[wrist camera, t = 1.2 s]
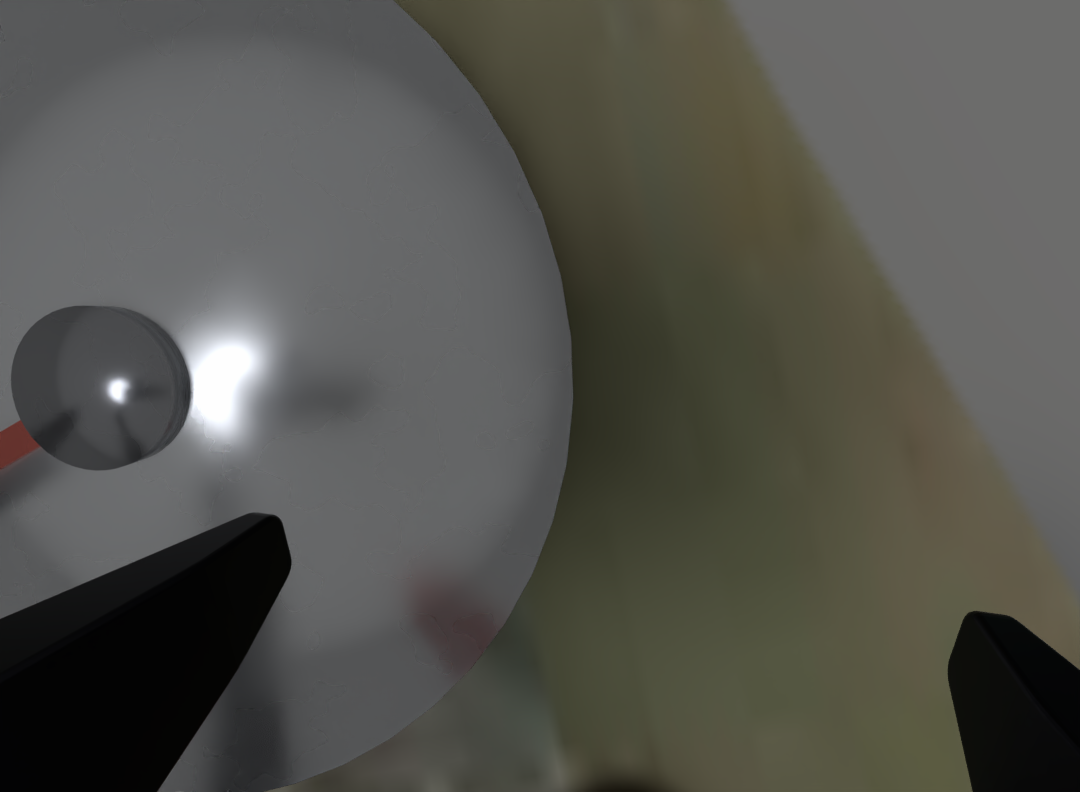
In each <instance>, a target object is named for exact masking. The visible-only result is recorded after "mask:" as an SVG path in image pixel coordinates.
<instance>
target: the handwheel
mask: <svg viewBox="0 0 1080 792" xmlns="http://www.w3.org/2000/svg"><path fill="white" fill-rule="evenodd" d="M572 407H573V370H572V338H571V332H570V326H569V320H568V314H567V307H566V301H565V295H564V289H563V283H562V277H561V274H560V271H559V267H558V264H557V261H556V257H555V254H554V251H553V248H552V244H551V241H550V238H549V234H548V231H547V228H546V224H545V221H544V218H543V215H542V213H541V210H540V208H539V206H538V204H537V201H536V199H535V197H534V195H533V193H532V190H531V188H530V186H529V184H528V181H527V179H526V177H525V175H524V172H523V170H522V168H521V166H520V163H519V161H518V159H517V157H516V154H515V152H514V151H513V149H512V147H511V146H510V144H509V142H508V141H507V139H506V138H505V136H504V134H503V133H502V131H501V129H500V128H499V126H498V124H497V123H496V121H495V120H494V118H493V116H492V115H491V113H490V111H489V110H488V108H487V106H486V105H485V103H484V102H483V100H482V98H481V97H480V95H479V94H478V92H477V91H476V90H475V89H474V87H473V86H472V85H471V84H470V83H469V81H468V80H467V79H466V78H465V76H464V75H463V74H462V73H461V71H460V70H459V69H458V68H457V66H456V65H455V64H454V63H453V61H452V60H451V59H450V58H449V56H448V55H447V54H446V53H445V52H444V50H443V49H442V48H441V47H440V45H439V44H438V43H437V42H436V41H435V40H434V39H433V38H432V37H431V36H430V35H429V34H428V33H427V32H426V31H425V30H424V29H423V28H422V27H421V26H420V25H419V24H417V23H416V22H415V21H414V20H413V19H412V18H411V17H410V16H409V15H408V14H407V13H406V12H405V11H404V10H403V9H402V8H401V7H400V6H399V5H398V4H396V3H395V2H394V1H393V0H0V619H1V618H3V617H5V616H8V615H10V614H13V613H15V612H17V611H20V610H22V609H24V608H27V607H29V606H31V605H34V604H36V603H38V602H41V601H43V600H45V599H48V598H50V597H52V596H55V595H57V594H59V593H62V592H64V591H66V590H69V589H71V588H74V587H76V586H78V585H81V584H83V583H85V582H88V581H90V580H92V579H95V578H97V577H99V576H102V575H104V574H106V573H109V572H111V571H113V570H116V569H118V568H120V567H123V566H125V565H128V564H130V563H132V562H135V561H137V560H139V559H142V558H144V557H146V556H149V555H151V554H153V553H156V552H158V551H160V550H163V549H165V548H167V547H170V546H172V545H174V544H177V543H179V542H182V541H184V540H186V539H189V538H191V537H193V536H196V535H198V534H200V533H203V532H205V531H207V530H210V529H212V528H214V527H217V526H219V525H221V524H224V523H226V522H228V521H231V520H233V519H235V518H238V517H240V516H243V515H245V514H247V513H251V512H259V513H266V514H273V515H276V516H278V517H279V518H280V519H281V521H282V523H283V526H284V530H285V534H286V538H287V542H288V546H289V550H290V554H291V559H292V565H291V570H290V573H289V576H288V578H287V580H286V582H285V584H284V586H283V587H282V589H281V591H280V593H279V595H278V597H277V599H276V601H275V602H274V604H273V606H272V608H271V610H270V612H269V614H268V615H267V617H266V619H265V621H264V623H263V625H262V627H261V629H260V630H259V632H258V634H257V636H256V638H255V640H254V642H253V644H252V645H251V647H250V649H249V651H248V653H247V655H246V656H245V658H244V660H243V662H242V663H241V665H240V667H239V669H238V670H237V672H236V673H235V675H234V677H233V678H232V680H231V681H230V683H229V685H228V686H227V688H226V689H225V691H224V692H223V694H222V695H221V697H220V698H219V700H218V701H217V703H216V704H215V706H214V707H213V709H212V710H211V712H210V713H209V715H208V716H207V718H206V719H205V721H204V722H203V724H202V725H201V727H200V728H199V730H198V731H197V733H196V734H195V736H194V737H193V739H192V740H191V742H190V743H189V745H188V747H187V748H186V750H185V751H184V753H183V754H182V756H181V757H180V759H179V760H178V762H177V763H176V765H175V766H174V768H173V769H172V771H171V772H170V774H169V775H168V777H167V778H166V780H165V781H164V783H163V784H162V786H161V787H160V789H159V790H158V792H263V791H267V790H271V789H275V788H279V787H284V786H288V785H292V784H296V783H298V782H301V781H303V780H306V779H308V778H311V777H313V776H316V775H319V774H321V773H324V772H326V771H329V770H331V769H334V768H336V767H339V766H341V765H344V764H346V763H348V762H349V761H351V760H353V759H355V758H357V757H358V756H360V755H362V754H364V753H366V752H367V751H369V750H371V749H373V748H375V747H376V746H378V745H380V744H382V743H383V742H385V741H387V740H389V739H391V738H392V737H393V736H395V735H396V734H397V733H398V732H400V731H401V730H402V729H404V728H405V727H406V726H408V725H409V724H410V723H412V722H413V721H414V720H416V719H417V718H418V717H420V716H421V715H422V714H424V713H425V712H426V711H428V710H429V709H430V708H432V707H433V706H434V705H435V704H436V703H437V702H438V701H439V700H440V699H441V698H442V697H443V696H444V695H445V694H446V693H447V692H448V691H449V690H450V689H451V688H452V687H453V686H454V685H455V684H456V683H457V682H458V681H459V680H460V679H461V678H462V677H463V676H464V675H465V674H466V673H467V672H468V671H469V670H470V669H471V668H472V667H473V665H474V664H475V663H476V661H477V660H478V659H479V657H480V656H481V655H482V653H483V652H484V651H485V649H486V648H487V647H488V645H489V644H490V643H491V641H492V640H493V639H494V637H495V636H496V635H497V633H498V632H499V631H500V629H501V628H502V627H503V625H504V624H505V622H506V621H507V619H508V617H509V615H510V613H511V612H512V610H513V608H514V606H515V604H516V603H517V601H518V599H519V597H520V595H521V594H522V592H523V590H524V588H525V586H526V585H527V583H528V581H529V579H530V577H531V576H532V573H533V571H534V568H535V566H536V563H537V561H538V558H539V555H540V553H541V550H542V548H543V545H544V543H545V540H546V537H547V535H548V532H549V530H550V527H551V525H552V522H553V519H554V514H555V510H556V506H557V502H558V498H559V494H560V489H561V485H562V481H563V477H564V473H565V468H566V464H567V456H568V446H569V436H570V427H571V417H572Z"/></svg>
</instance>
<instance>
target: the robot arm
mask: <svg viewBox="0 0 1080 792" xmlns="http://www.w3.org/2000/svg"><path fill="white" fill-rule="evenodd" d="M291 565H292V559H291V554H290V550H289V546H288V542H287V538H286V534H285V530H284V526H283V523H282V521H281V519H280V518H279V517H278V516H276V515H273V514H266V513H259V512H251V513H247V514H245V515H243V516H240V517H238V518H235V519H233V520H231V521H228V522H226V523H224V524H221V525H219V526H217V527H214V528H212V529H210V530H207V531H205V532H203V533H200V534H198V535H196V536H193V537H191V538H189V539H186V540H184V541H182V542H179V543H177V544H174V545H172V546H170V547H167V548H165V549H163V550H160V551H158V552H156V553H153V554H151V555H149V556H146V557H144V558H142V559H139V560H137V561H135V562H132V563H130V564H128V565H125V566H123V567H120V568H118V569H116V570H113V571H111V572H109V573H106V574H104V575H102V576H99V577H97V578H95V579H92V580H90V581H88V582H85V583H83V584H81V585H78V586H76V587H74V588H71V589H69V590H66V591H64V592H62V593H59V594H57V595H55V596H52V597H50V598H48V599H45V600H43V601H41V602H38V603H36V604H34V605H31V606H29V607H27V608H24V609H22V610H20V611H17V612H15V613H13V614H10V615H8V616H5V617H3V618H1V619H0V792H158V790H159V789H160V787H161V786H162V784H163V783H164V781H165V780H166V778H167V777H168V775H169V774H170V772H171V771H172V769H173V768H174V766H175V765H176V763H177V762H178V760H179V759H180V757H181V756H182V754H183V753H184V751H185V750H186V748H187V747H188V745H189V743H190V742H191V740H192V739H193V737H194V736H195V734H196V733H197V731H198V730H199V728H200V727H201V725H202V724H203V722H204V721H205V719H206V718H207V716H208V715H209V713H210V712H211V710H212V709H213V707H214V706H215V704H216V703H217V701H218V700H219V698H220V697H221V695H222V694H223V692H224V691H225V689H226V688H227V686H228V685H229V683H230V681H231V680H232V678H233V677H234V675H235V673H236V672H237V670H238V669H239V667H240V665H241V663H242V662H243V660H244V658H245V656H246V655H247V653H248V651H249V649H250V647H251V645H252V644H253V642H254V640H255V638H256V636H257V634H258V632H259V630H260V629H261V627H262V625H263V623H264V621H265V619H266V617H267V615H268V614H269V612H270V610H271V608H272V606H273V604H274V602H275V601H276V599H277V597H278V595H279V593H280V591H281V589H282V587H283V586H284V584H285V582H286V580H287V578H288V576H289V573H290V570H291ZM948 681H949V686H950V691H951V696H952V700H953V705H954V709H955V714H956V718H957V723H958V727H959V732H960V736H961V741H962V745H963V750H964V754H965V759H966V764H967V768H968V773H969V777H970V782H971V786H972V791H973V792H1080V670H1079V669H1078V668H1077V667H1075V666H1074V665H1073V664H1072V663H1070V662H1069V661H1068V660H1067V659H1065V658H1064V657H1063V656H1061V655H1060V654H1059V653H1058V652H1056V651H1055V650H1054V649H1053V648H1051V647H1050V646H1049V645H1048V644H1046V643H1045V642H1044V641H1043V640H1041V639H1040V638H1039V637H1037V636H1036V635H1035V634H1034V633H1032V632H1031V631H1030V630H1029V629H1027V628H1026V627H1025V626H1024V625H1022V624H1021V623H1020V622H1018V621H1017V620H1016V619H1014V618H1012V617H1010V616H1007V615H1002V614H995V613H988V612H980V611H972V612H969V613H968V614H967V615H966V616H965V617H964V619H963V622H962V624H961V627H960V630H959V633H958V636H957V639H956V642H955V644H954V647H953V650H952V653H951V656H950V659H949V663H948Z"/></svg>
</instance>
